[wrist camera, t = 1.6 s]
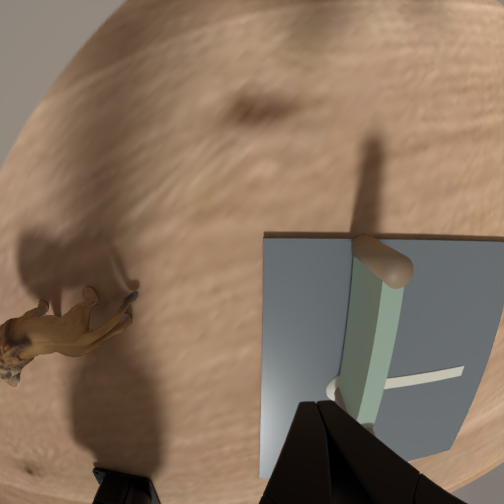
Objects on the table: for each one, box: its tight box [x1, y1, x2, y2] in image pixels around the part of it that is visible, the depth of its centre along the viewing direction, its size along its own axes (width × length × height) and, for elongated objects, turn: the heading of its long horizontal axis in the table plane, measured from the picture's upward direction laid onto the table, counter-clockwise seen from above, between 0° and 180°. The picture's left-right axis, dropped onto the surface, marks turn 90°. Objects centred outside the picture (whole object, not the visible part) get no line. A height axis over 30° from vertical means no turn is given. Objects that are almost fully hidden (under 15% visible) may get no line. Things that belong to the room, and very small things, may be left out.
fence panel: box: [334, 234, 414, 436], centre depth 17 cm, size 12×2×5 cm, turn 0°
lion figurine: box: [0, 287, 138, 387], centre depth 17 cm, size 12×4×7 cm, turn 112°
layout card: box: [259, 238, 504, 478], centre depth 22 cm, size 22×20×1 cm
